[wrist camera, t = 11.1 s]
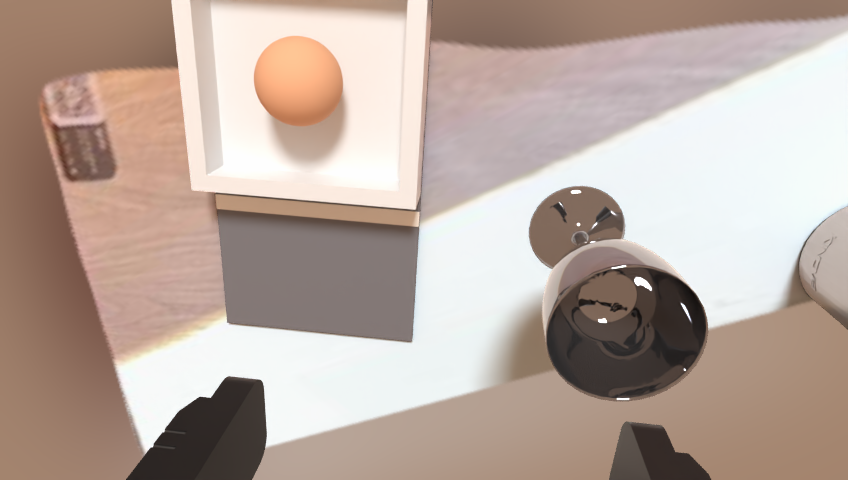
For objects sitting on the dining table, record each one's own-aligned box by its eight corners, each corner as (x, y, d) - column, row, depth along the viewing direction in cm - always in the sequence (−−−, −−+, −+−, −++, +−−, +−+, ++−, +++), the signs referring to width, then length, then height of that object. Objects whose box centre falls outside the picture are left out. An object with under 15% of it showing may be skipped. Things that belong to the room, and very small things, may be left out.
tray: (435, -45, 35) (430, -51, 32) (420, 194, 41) (415, 209, 38) (193, -59, 36) (164, -66, 33) (214, 176, 42) (191, 190, 39)
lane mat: (436, -61, 35) (435, -62, 35) (412, 338, 46) (411, 341, 46) (194, -75, 36) (190, -76, 36) (229, 320, 47) (226, 323, 47)
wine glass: (551, 164, 40) (590, 242, 26) (651, 204, 40) (741, 302, 26) (506, 256, 43) (520, 370, 29) (599, 292, 43) (656, 421, 29)
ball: (352, 37, 37) (330, 40, 31) (351, 121, 39) (330, 137, 34) (270, 31, 37) (235, 34, 32) (274, 115, 39) (242, 130, 34)
